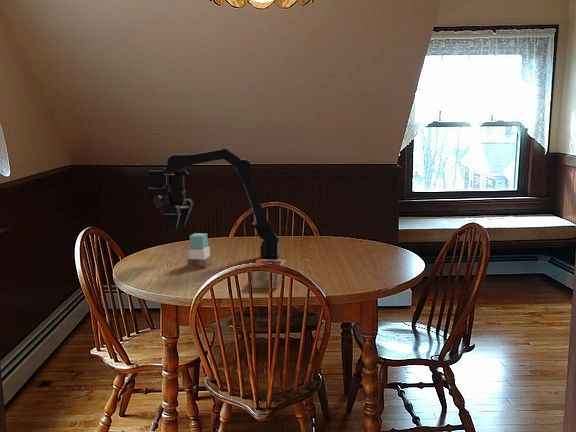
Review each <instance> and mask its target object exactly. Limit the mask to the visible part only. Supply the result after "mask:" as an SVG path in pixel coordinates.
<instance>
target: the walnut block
mask: <svg viewBox="0 0 576 432" xmlns="http://www.w3.org/2000/svg"><path fill="white" fill-rule="evenodd" d="M186 260H187V268H188V269H208V267H210V266H211V265H212V264H213V263H212V261H213V260H212V254H210V256H209V257H207V258H206V259H205V260H201V259H189V257H188V258H187V259H186ZM211 263H212V264H211Z"/></svg>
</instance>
